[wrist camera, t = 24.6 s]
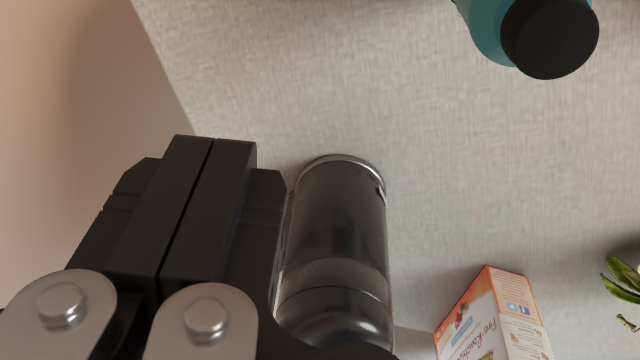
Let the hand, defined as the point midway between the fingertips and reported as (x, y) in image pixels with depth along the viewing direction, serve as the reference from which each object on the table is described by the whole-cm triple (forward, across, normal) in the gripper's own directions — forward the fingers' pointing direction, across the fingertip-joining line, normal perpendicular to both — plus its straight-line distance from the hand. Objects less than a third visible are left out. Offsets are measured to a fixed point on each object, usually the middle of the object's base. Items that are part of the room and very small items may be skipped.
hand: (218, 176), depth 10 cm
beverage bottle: (+35, -12, +2) cm, 37 cm away
